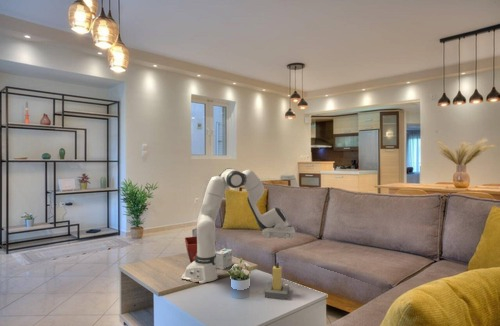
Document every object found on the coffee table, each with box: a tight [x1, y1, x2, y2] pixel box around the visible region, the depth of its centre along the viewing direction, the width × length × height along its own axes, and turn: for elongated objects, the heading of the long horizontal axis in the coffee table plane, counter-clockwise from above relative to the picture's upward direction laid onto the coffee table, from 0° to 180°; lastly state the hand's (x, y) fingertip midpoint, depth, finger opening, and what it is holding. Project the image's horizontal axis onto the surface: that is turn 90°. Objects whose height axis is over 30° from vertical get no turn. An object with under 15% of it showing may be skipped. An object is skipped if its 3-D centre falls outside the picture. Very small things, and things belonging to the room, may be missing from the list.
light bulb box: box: [215, 247, 233, 270], centre depth 215 cm, size 11×7×11 cm, turn 149°
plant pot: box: [184, 235, 217, 264], centre depth 221 cm, size 19×19×17 cm
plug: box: [272, 262, 283, 291], centre depth 174 cm, size 4×4×16 cm
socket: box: [264, 282, 290, 301], centre depth 175 cm, size 12×12×4 cm
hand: (277, 236), depth 187 cm, fingers open, 8 cm apart
